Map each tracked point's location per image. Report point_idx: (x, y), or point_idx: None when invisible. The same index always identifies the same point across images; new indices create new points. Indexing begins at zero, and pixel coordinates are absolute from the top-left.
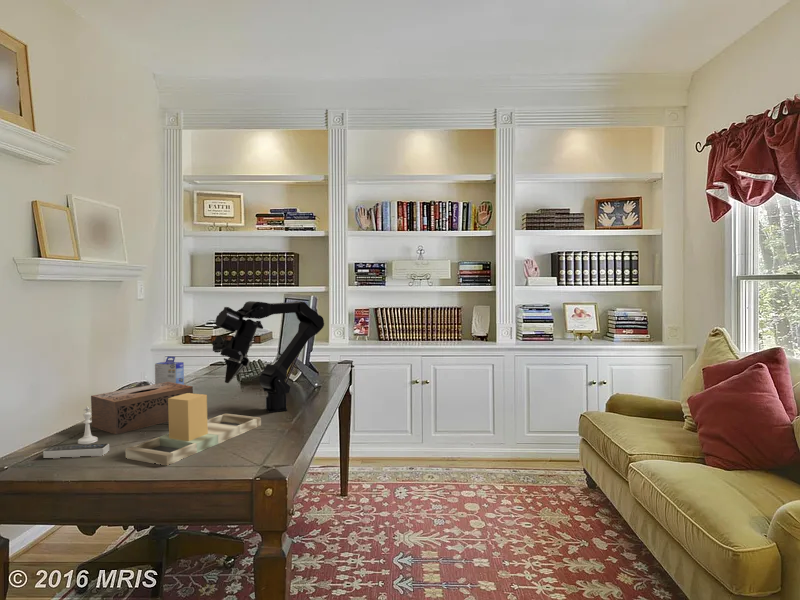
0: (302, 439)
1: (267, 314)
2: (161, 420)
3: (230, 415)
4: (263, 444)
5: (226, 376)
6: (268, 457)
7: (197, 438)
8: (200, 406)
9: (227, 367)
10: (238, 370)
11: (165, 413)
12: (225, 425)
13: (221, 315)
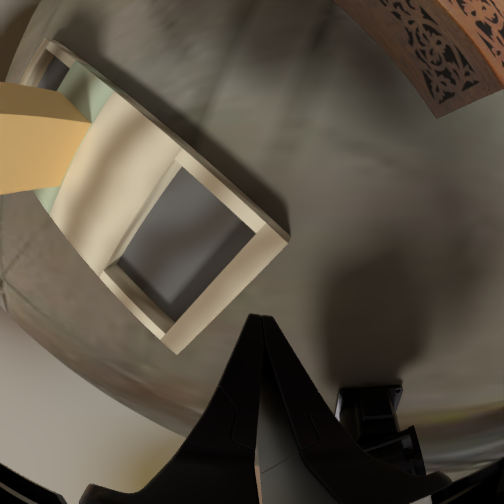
0: (82, 374)
1: None
2: (348, 8)
3: (241, 263)
4: (58, 305)
5: (231, 354)
6: (19, 295)
7: None
8: None
9: (194, 433)
10: (261, 468)
11: (363, 7)
12: (112, 236)
13: None
